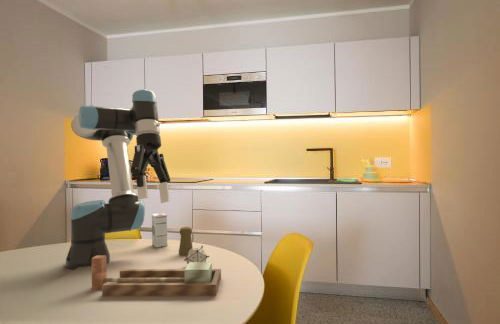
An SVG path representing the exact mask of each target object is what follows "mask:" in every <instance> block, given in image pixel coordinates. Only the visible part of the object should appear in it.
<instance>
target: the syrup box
mask: <svg viewBox="0 0 500 324" xmlns="http://www.w3.org/2000/svg"><path fill="white" fill-rule="evenodd" d="M151 236H152V237H151V238H152V239H151V240H152V243H151V244H152V246H153V247H155V248H162V247H161V246H163V247H167V246H168V215H167V214H165V213H163V212H157V213H152V214H151Z"/></svg>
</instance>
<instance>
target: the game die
mask: <svg viewBox="0 0 500 324" xmlns="http://www.w3.org/2000/svg"><path fill="white" fill-rule="evenodd" d="M188 248H189V247H188ZM207 258H210V256H209V255H207V254H206V252H205V251H204V246H203V245H201V246H200V247H195V248H194V247H193V248H192V249H190V248H189V252H188V254H187V255H186V258H185V259H183V261H184V262H186V264H187V265H188V264H189V262H207Z"/></svg>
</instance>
